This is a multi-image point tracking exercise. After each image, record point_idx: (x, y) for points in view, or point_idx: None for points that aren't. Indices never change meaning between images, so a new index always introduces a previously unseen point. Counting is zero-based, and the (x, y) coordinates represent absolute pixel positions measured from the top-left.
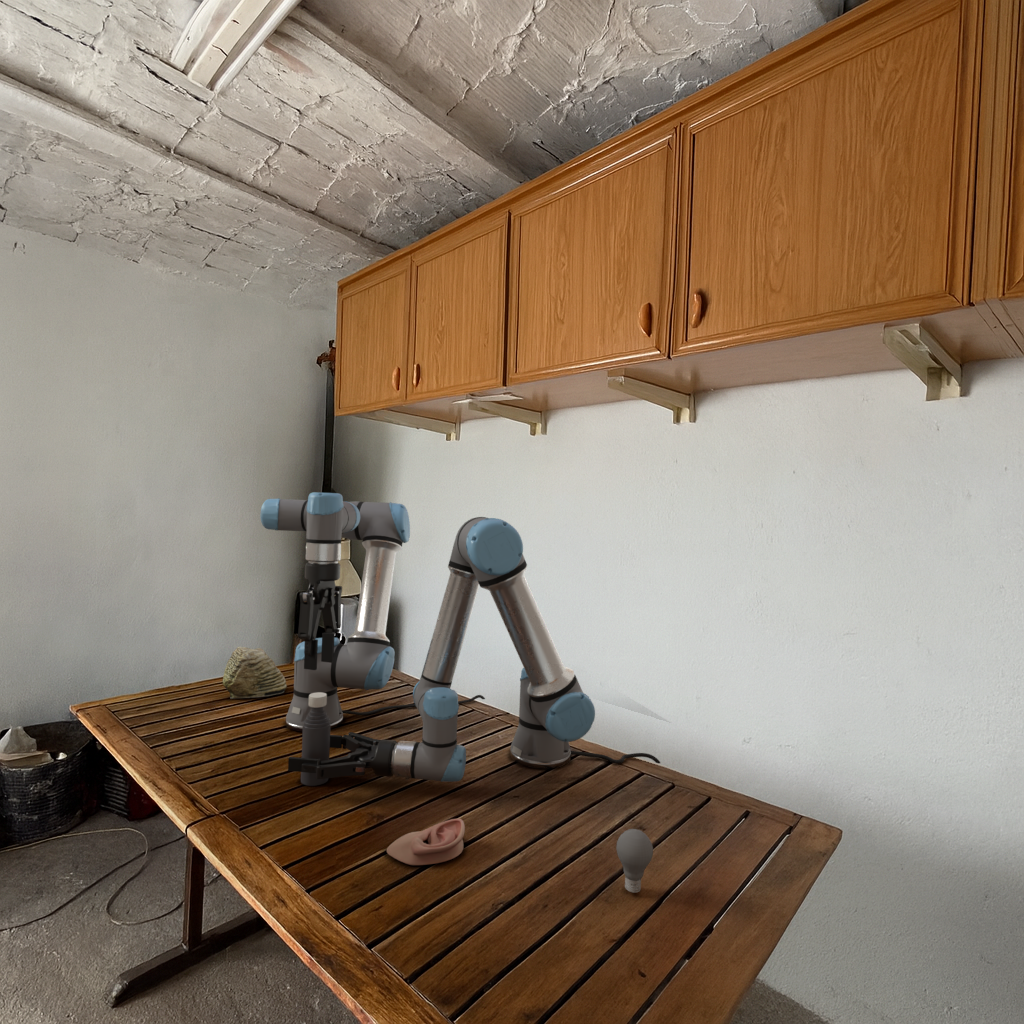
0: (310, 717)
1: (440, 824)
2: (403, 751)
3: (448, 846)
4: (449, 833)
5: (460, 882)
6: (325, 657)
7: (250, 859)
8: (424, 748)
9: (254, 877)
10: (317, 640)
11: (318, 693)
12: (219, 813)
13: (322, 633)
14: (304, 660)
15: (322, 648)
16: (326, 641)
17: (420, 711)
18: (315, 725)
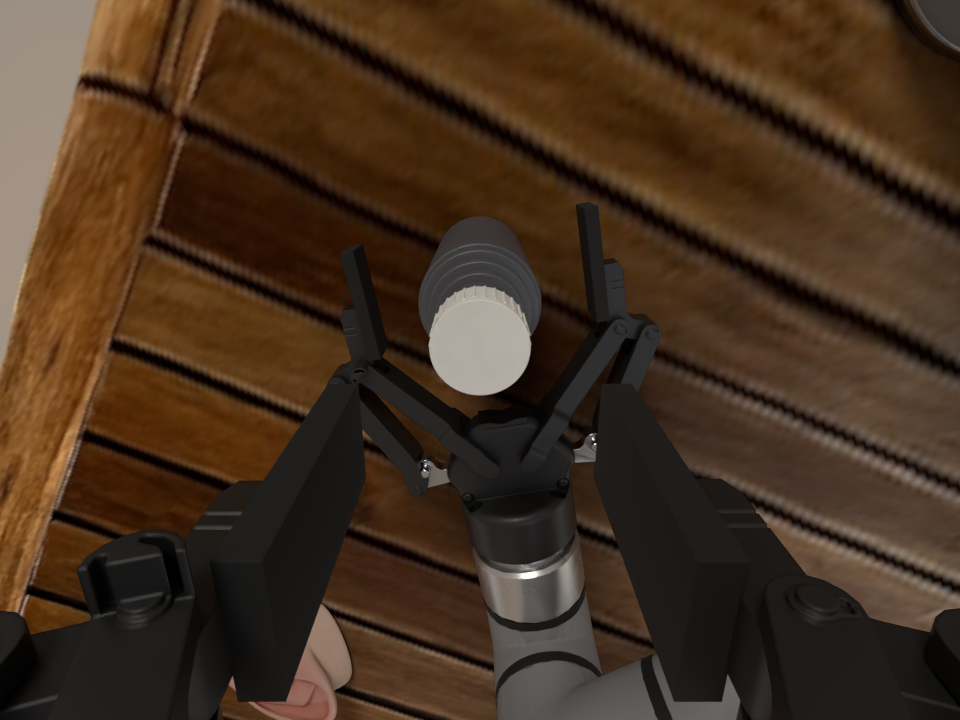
0: (435, 307)
1: (312, 681)
2: (495, 593)
3: (255, 707)
4: (297, 698)
5: (222, 711)
6: (608, 440)
7: (64, 352)
8: (507, 657)
9: (23, 401)
10: (277, 694)
11: (505, 337)
12: (178, 117)
13: (693, 561)
14: (306, 419)
15: (629, 451)
16: (652, 544)
17: (593, 709)
18: (428, 333)
